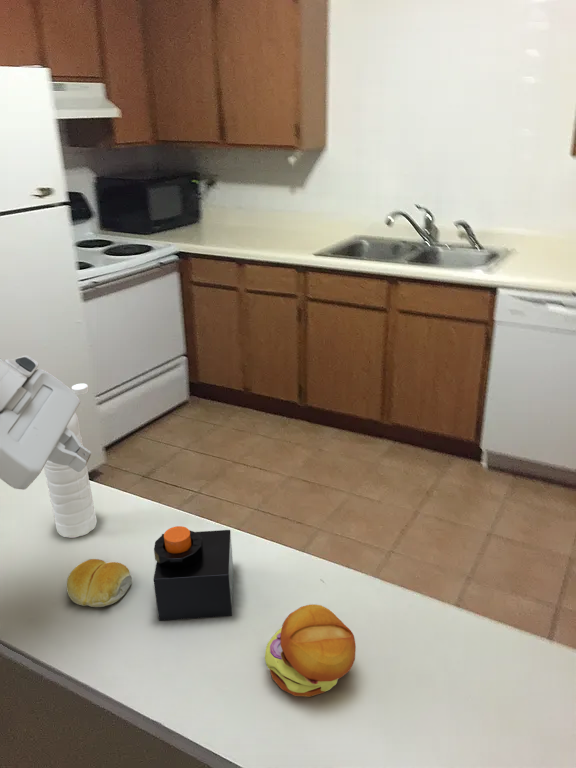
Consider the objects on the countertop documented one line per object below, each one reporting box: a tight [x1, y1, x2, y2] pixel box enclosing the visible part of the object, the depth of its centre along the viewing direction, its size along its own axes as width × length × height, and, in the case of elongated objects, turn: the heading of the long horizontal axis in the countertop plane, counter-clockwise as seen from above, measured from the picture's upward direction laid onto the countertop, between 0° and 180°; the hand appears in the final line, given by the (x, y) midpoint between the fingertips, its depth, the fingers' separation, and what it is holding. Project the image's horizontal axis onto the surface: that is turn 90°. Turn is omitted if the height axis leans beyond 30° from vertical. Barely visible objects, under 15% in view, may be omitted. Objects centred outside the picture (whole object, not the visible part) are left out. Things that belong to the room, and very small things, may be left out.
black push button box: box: [152, 529, 234, 622], centre depth 94 cm, size 10×10×9 cm
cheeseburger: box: [264, 603, 357, 698], centre depth 81 cm, size 10×11×10 cm
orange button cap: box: [163, 525, 191, 553], centre depth 92 cm, size 4×4×2 cm
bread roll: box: [66, 558, 133, 608], centre depth 97 cm, size 8×9×4 cm
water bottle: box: [43, 382, 98, 539], centre depth 108 cm, size 9×6×25 cm
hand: (86, 462), depth 86 cm, fingers closed
